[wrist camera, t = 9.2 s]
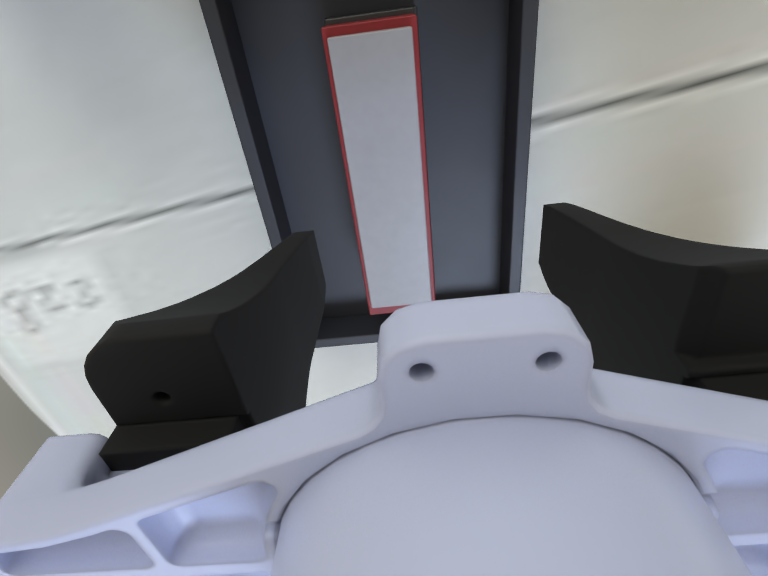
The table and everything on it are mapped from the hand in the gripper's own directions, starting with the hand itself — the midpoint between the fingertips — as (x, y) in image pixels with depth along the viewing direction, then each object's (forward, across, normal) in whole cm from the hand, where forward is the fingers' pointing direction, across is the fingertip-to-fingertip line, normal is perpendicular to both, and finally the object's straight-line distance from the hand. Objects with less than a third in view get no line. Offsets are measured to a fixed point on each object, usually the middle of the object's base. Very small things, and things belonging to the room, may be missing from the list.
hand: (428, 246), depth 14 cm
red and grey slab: (+8, +1, 0) cm, 9 cm away
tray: (+9, +1, 0) cm, 9 cm away
